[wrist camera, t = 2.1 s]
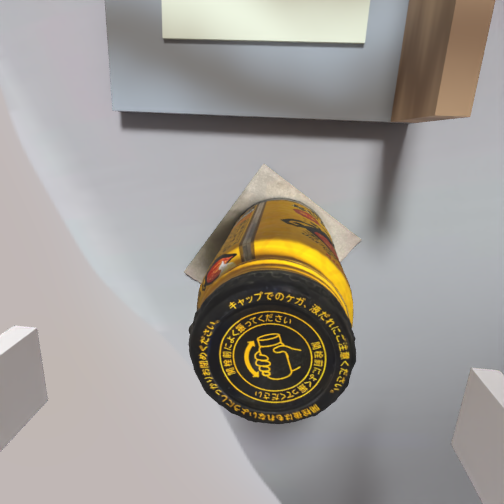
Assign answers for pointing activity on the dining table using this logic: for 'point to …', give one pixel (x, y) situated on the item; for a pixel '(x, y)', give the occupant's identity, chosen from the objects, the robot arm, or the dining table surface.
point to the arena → (298, 58)
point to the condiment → (273, 306)
